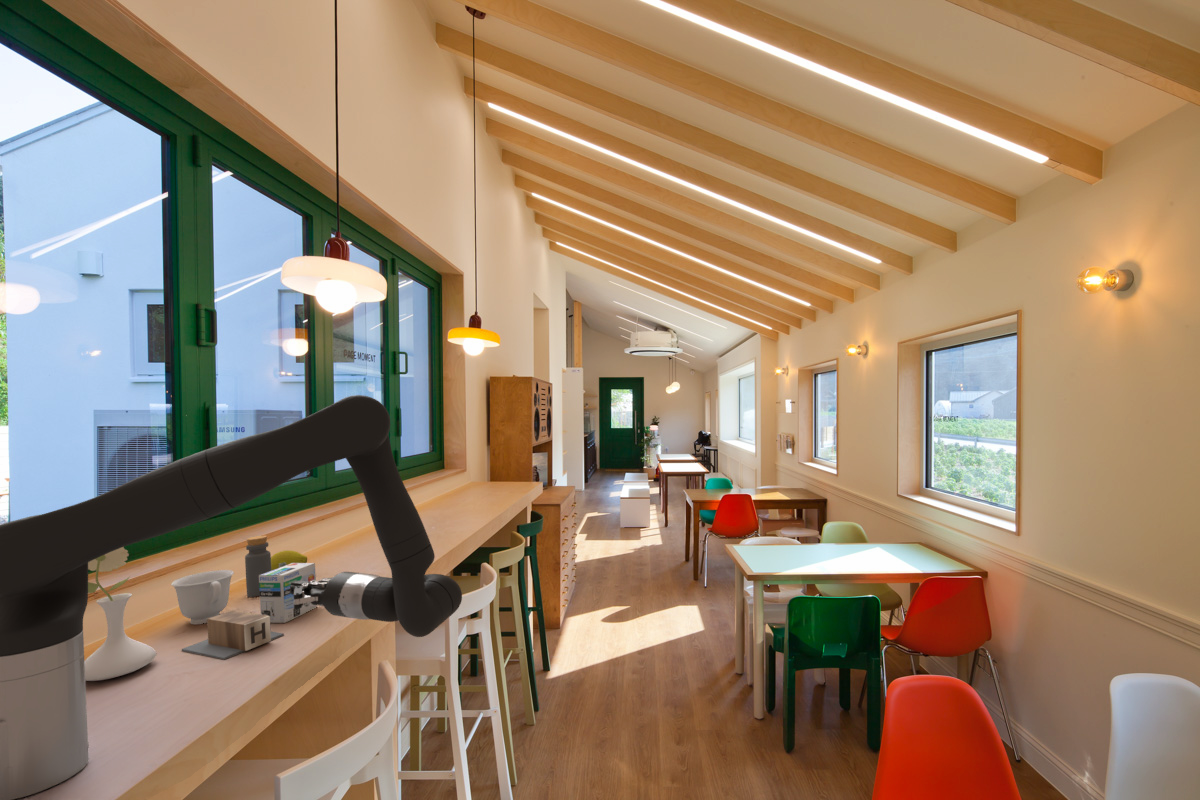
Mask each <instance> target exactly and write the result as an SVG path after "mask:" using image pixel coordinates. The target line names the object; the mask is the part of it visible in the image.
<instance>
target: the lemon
mask: <svg viewBox="0 0 1200 800" xmlns="http://www.w3.org/2000/svg"><path fill="white" fill-rule="evenodd" d="M291 563H308V556H307V555H304V554H302V553H300V552H298V551H295V550H282V551H279V552H276V553H275V554H273V555H271V571H272V570H275V569H278V568H281V567H283V566H286V565H289V564H291Z"/></svg>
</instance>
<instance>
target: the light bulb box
mask: <svg viewBox="0 0 1200 800" xmlns="http://www.w3.org/2000/svg"><path fill="white" fill-rule="evenodd" d="M313 580H315V581H317V580H316V563H315V562H307V563H291V564H289V565H286V566H283V567H281V568H278V569H275V570H272V571H270V572H267V573H264V574H261V575H259V590H260V596H259V606H260V615H267V616H270V624H271V623H273V624H274V623H275V624H276V623H277V624H283V623H284V624H286V623H288V622H290V621H291V620H293V619H296V618H298V617H300V616H302V615H304V614H306V612H307V613H308V611H309V612H310V610H311V611H312V609H313V610H314V608H315V609H317V608H318V605H313V604H311V602H308V603H305V605H304V606H302V608H300V609H294V595H292V594H291V593H290V584H291V583H292V582H296V581H307V582H311V581H313ZM316 607H317V608H316Z"/></svg>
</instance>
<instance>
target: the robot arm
mask: <svg viewBox="0 0 1200 800" xmlns="http://www.w3.org/2000/svg"><path fill="white" fill-rule="evenodd" d="M390 428H391V418H390V414H389V410H387V407H386V406H385V405H383V404H382V402H381V401H379V400H378V399H376V398H374V397H371V396H367V395H365V394H364V395H361V394H356V395H355V394H353V395H349V396H345V397H343V398H342V399H340V400H338V401H336V402H334V403H332V404H330V405H328V406H326V407H324V408H322V409H320V410H318V411H316V412H315V413H312V414H310V415H307V416H305V417H303V418H301V419H299V420H296V421H294V422H292V423H290V424H287V425H285V426H282V427H278V428H275V429H272V430H268V431H264V432H260V433H256V434H252V435H248V436H245V437H242V438H239V439H235V440H231V441H228V442H226V443H221V444H220V445H219V444H218V445H216V446H214V447H209V448H208V449H204V450H202V451H199V452H196V453H193V454H191V455H188V456H185V457H183V458H180V459H177V460H175V461H173V462H171V463H168V464H165V465H163V466H161V467H159V468H156V469H154V470H151V471H150V472H146V473H145V474H142V475H139V476H138V477H136V478H134V479H132V480H129V481H128V482H126V483H123V484H121V485H119V486H116V487H115V488H113V489H110V490H109V491H107V492H106V491H105V492H104V493H102V494H100V495H97V496H95V497H93V498H89V499H88V500H84V501H81V502H78V503H76V504H72V505H69V506H66V507H62V508H58V509H56V510H52V511H49V512H46V513H45V512H44V513H43V514H42V513H41V514H36V515H31V516H27V517H23V518H19V519H16V520H12V521H8V522H5V523H2V524H0V800H16V799H20V798H24V797H27V796H30V795H34V794H38V793H40V792H42V791H45V790H48V789H49V788H51V787H54V786H56V785H59V784H60V783H62V782H64V781H66V780H68V779H70V778H72V777H73V776H75V775H76V774H77V773H79V772H80V771H81V770H83V769H84V768H85V766H87V764H88V763H89V759H90V758H89V748H90V747H89V746H90V744H89V734H88V712H87V711H88V710H87V689H86V687H87V686H86V681H85V662H84V661H85V643H84V642H85V641H84V639H85V638H84V615H85V612H86V609H87V606H88V600H89V593H88V582H89V569H88V562H90V561H92V560H94V559H96V558H98V557H100V556H103V555H105V554H107V553H109V552H112V551H114V550H117V549H119V548H122V547H127V546H131V545H133V544H136V543H141V542H143V541H145V540H146V541H147V540H149V539H152V538H156V537H159V536H162V535H165V534H168V533H171V532H175V531H177V530H180V529H183V528H186V527H189V526H192V525H194V524H197V523H200V522H203V521H206V520H208V519H211V518H213V517H215V516H218V515H221V514H223V513H226V512H228V511H230V510H233V509H235V508H239V506H242V505H244V504H246V503H249V502H251V501H252V500H255V499H256V498H259V497H261V496H262V495H265V494H267V493H268V492H270V491H272V490H274V489H275V488H278V487H279V486H281V485H283V484H285V483H287V482H288V481H290V480H291V479H294V478H295V477H297V476H299V475H301V474H303V473H306V472H308V471H310V470H314V469H316V468H319V467H322V466H325V465H328V464H332V463H334V462H337V461H340V460H341V461H342V460H344V459H346V461H347V462H348V464H349V467H351V469H352V471H353V473H354V475H355V477H356V479H357V481H358V483H359V486H360V488H361V491H362V493H363V496H364V498H365V501H366V505H367V507H368V511H369V513H370V517H371V520H372V521H371V522H372V524H373V527H374V530H375V533H376V536H377V538H378V541H379V544H380V546H381V548H382V551H383V554H384V557H385V558H386V561H387V564H388V566H389V568H390V572H391V577H389V576H388V577H386V576H380V575H378V574H373V573H363V572H354V571H342V572H339V573H337V574H336V575H334V576H333V577H323V578H321V579H319V580H316V581H315V580H313V581H311V582H307V581H296V582H292V583H291V584H290V593H291V594H292V595H294V609H300V608H302V606H304V605H305V603H308V602H311V604H313V605H317V606H319V607H324V608H325V610H326V612H328V613H329V614H330V615H332V616H335V617H344V618H350V619H356V620H372V621H373V620H374V621H380V622H385V623H386V622H387V623H391V622H392V623H393V622H398V623H399V624H400V626H401V627H402V629H403V630H404V631H405V632H406V633H407V634H409V635H411V636H413V637H415V638H421V637H422V638H423V637H425V636H426V637H427V636H428V635H430V634H431V633H432V632H434V631H435V630H436V629H437V628H438V627H440V625H442V624H443V623H444V622H446V621H447V619H448V618H450V617H451V616H452V615H453V614H454V613H456V612H457V610H459V607H460V606H461V604H462V601H463V592H462V589H461V587H460V585H459V583H457V582H456V580H454V579H453V578H452V577H450V576H448V575H444V574H441V573H440V574H439V573H428V574H426V573H427V571H428V569H429V568H430V567H431V566H432V564H433V562H434V561H435V558H436V557H435V552H434V548H433V545H432V543H431V541H430V538H429V535H428V532H427V531H426V529H425V526H424V523H423V521H422V518H421V516H420V514H419V512H418V510H417V507H416V506H415V503H414V502H413V499H412V498H411V496H410V493H409V492H408V490H407V488H406V486H405V484H404V482H403V480H402V477H401V475H400V472H399V470H398V467H397V464H396V461H395V458H394V454H393V450H392V445H391V441H390V436H389V433H390V430H391V429H390Z"/></svg>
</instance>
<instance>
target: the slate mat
mask: <svg viewBox="0 0 1200 800" xmlns="http://www.w3.org/2000/svg"><path fill="white" fill-rule="evenodd" d="M270 631H271V630H270ZM284 635H285V633H282V632H277V631H271V641H274V640H276V639H278V638H281V637H283V636H284ZM181 652H183V653H184V652H185V653H188V654H193V655H200V656H205V657H209V658H213V659H219V660H224V661H225V660H227V659H229V658H232V657H235V656H237V655H239V654H242V653H245V652H246V651H244V650H239V649H234V648H229V647H223V646H218V645H213V644H208V638H207V639H205V640H202V641H200V642H196V643H194V644H192V645H189V646H186V647H183V648H181Z"/></svg>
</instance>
